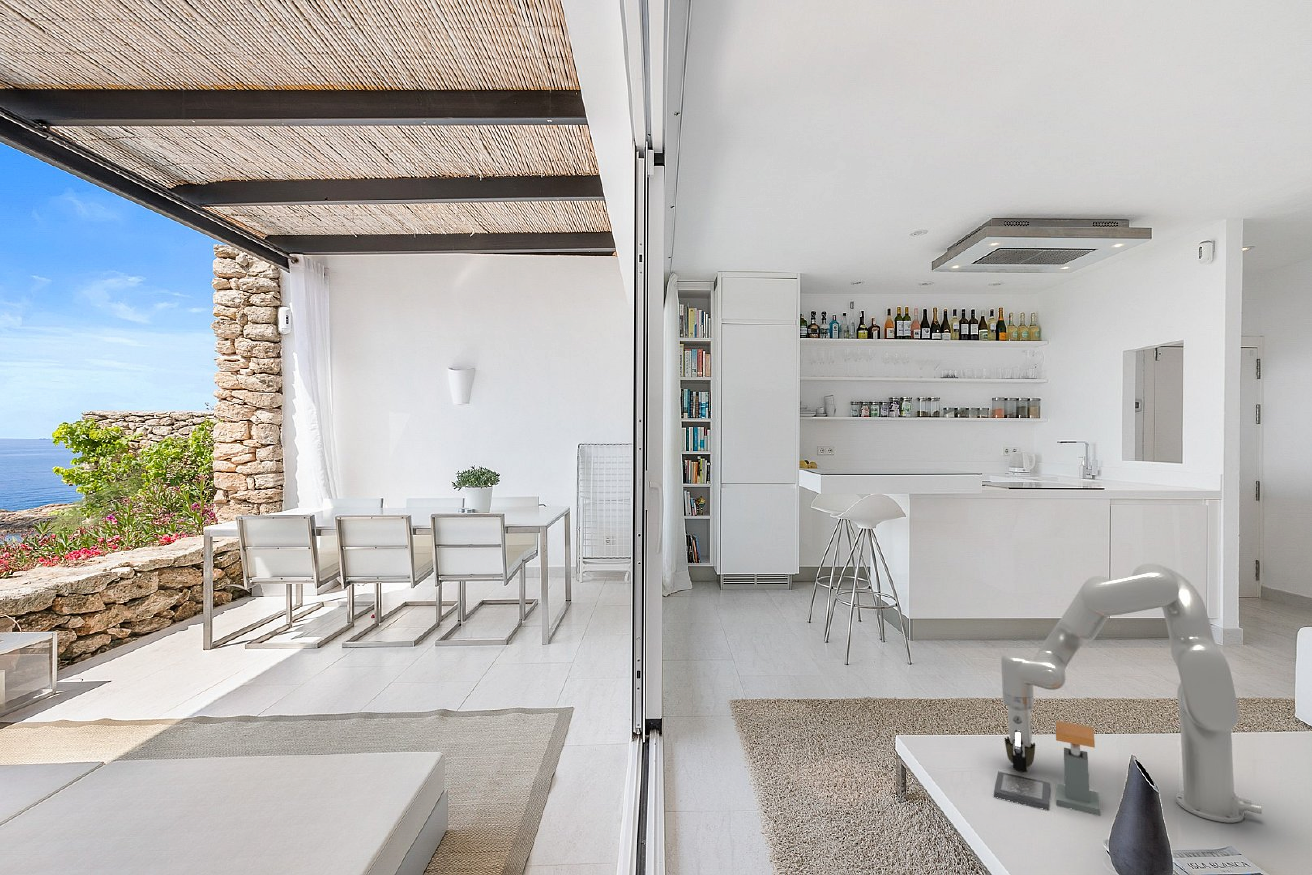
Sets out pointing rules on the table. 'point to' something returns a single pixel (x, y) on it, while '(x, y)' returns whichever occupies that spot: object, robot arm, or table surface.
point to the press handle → (1075, 736)
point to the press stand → (1077, 785)
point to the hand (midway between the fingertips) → (1020, 763)
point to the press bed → (1022, 790)
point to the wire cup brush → (1028, 753)
